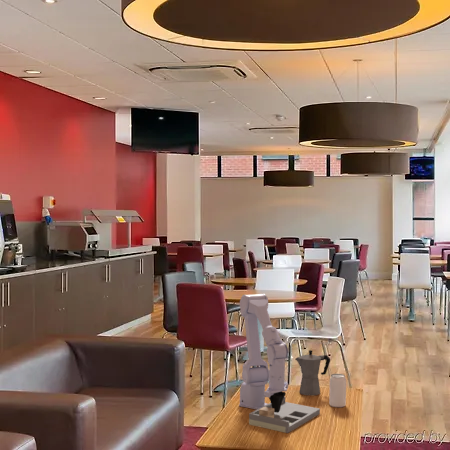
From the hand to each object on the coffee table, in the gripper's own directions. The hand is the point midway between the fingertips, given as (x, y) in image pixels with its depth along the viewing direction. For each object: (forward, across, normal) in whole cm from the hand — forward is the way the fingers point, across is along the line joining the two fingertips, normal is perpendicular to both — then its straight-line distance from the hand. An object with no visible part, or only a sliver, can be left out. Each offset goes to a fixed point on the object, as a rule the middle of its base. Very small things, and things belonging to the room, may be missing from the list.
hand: (276, 411), depth 275 cm
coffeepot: (+3, +40, +5) cm, 40 cm away
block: (+1, -8, 0) cm, 8 cm away
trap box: (+3, +2, -3) cm, 5 cm away
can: (+3, +30, -11) cm, 32 cm away
